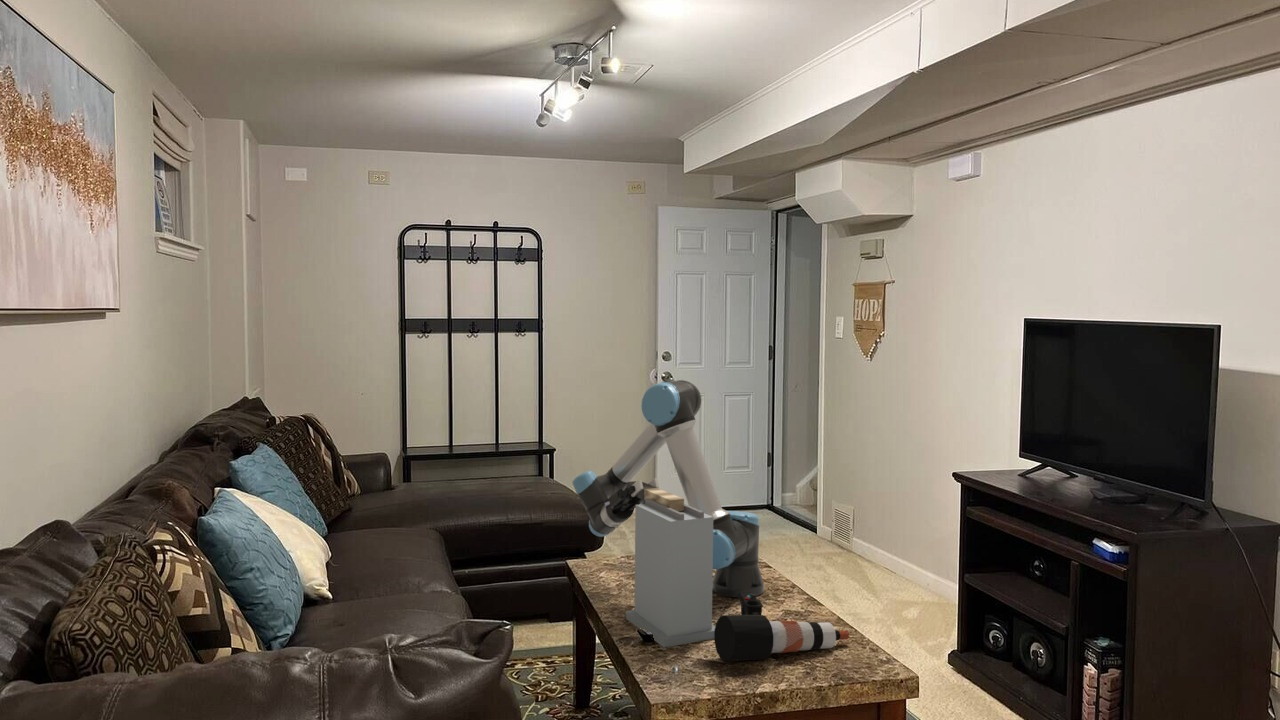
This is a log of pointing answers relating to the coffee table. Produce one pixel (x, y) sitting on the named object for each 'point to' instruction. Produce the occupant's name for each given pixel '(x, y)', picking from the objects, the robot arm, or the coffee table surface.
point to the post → (673, 573)
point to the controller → (750, 604)
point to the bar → (659, 496)
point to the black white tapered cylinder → (770, 637)
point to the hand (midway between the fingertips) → (649, 483)
